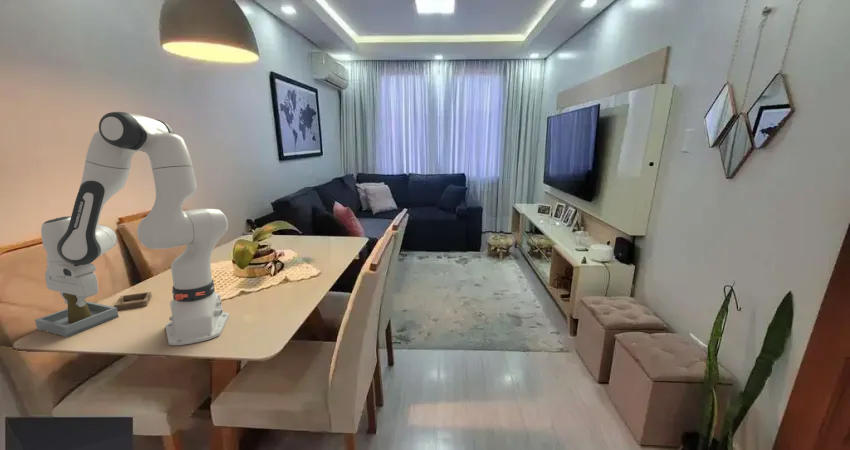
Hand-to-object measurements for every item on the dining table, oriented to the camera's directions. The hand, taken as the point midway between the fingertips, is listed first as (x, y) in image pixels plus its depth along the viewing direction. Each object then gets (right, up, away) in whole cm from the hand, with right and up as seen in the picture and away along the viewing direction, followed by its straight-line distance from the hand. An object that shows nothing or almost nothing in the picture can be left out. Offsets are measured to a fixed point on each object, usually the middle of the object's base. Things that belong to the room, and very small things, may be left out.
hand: (75, 304), depth 125 cm
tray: (0, -7, +1) cm, 7 cm away
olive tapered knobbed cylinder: (0, -6, +2) cm, 6 cm away
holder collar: (+7, -3, +17) cm, 18 cm away
